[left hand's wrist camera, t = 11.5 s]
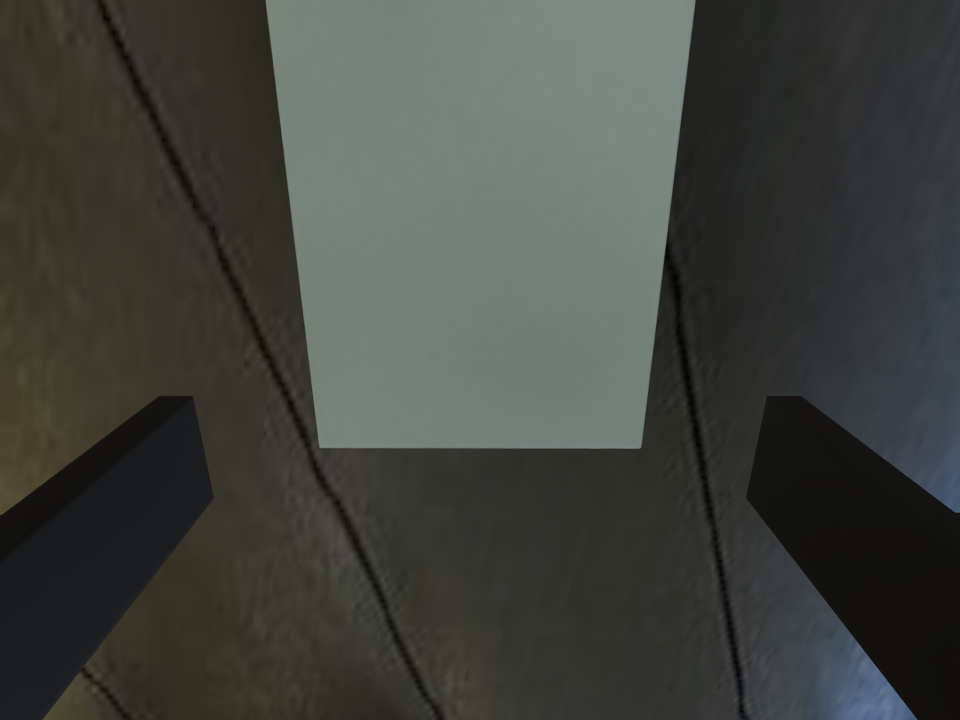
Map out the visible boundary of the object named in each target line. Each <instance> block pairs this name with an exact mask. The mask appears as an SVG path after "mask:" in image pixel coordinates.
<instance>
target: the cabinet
mask: <svg viewBox="0 0 960 720" xmlns="http://www.w3.org/2000/svg"><path fill="white" fill-rule="evenodd" d="M266 8H267V16H268V25H269V33H270V41H271V50H272V58H273V66H274V75H275V83H276V91H277V100H278V108H279V116H280V124H281V133H282V141H283V149H284V158H285V166H286V174H287V183H288V191H289V199H290V208H291V216H292V224H293V233H294V241H295V249H296V257H297V266H298V274H299V282H300V291H301V299H302V307H303V316H304V324H305V332H306V341H307V349H308V357H309V366H310V374H311V382H312V390H313V399H314V407H315V415H316V424H317V432H318V440H319V447H320V448H641V445H642V437H643V429H644V420H645V412H646V404H647V396H648V388H649V379H650V371H651V363H652V355H653V346H654V338H655V330H656V322H657V313H658V305H659V297H660V289H661V280H662V272H663V264H664V256H665V247H666V239H667V231H668V223H669V215H670V206H671V198H672V190H673V182H674V173H675V165H676V157H677V149H678V140H679V132H680V124H681V116H682V107H683V99H684V91H685V83H686V74H687V66H688V58H689V50H690V41H691V33H692V25H693V17H694V9H695V0H266Z"/></svg>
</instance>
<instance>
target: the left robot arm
mask: <svg viewBox="0 0 960 720" xmlns="http://www.w3.org/2000/svg"><path fill="white" fill-rule="evenodd" d="M213 498H214V496H213V492H212V487H211V482H210V477H209V472H208V467H207V462H206V458H205V453H204V448H203V443H202V438H201V433H200V429H199V424H198V419H197V414H196V409H195V404H194V399H193V396H159V397H157V398H156V399H155V400H153V401H152V402H151V403H149V404H148V405H147V406H146V407H144V408H143V409H142V410H140V411H139V412H138V413H136V414H135V415H134V416H132V417H131V418H130V419H128V420H127V421H126V422H124V423H123V424H122V425H120V426H119V427H118V428H116V429H115V430H114V431H112V432H111V433H110V434H108V435H107V436H106V437H104V438H103V439H102V440H101V441H99V442H98V443H97V444H95V445H94V446H93V447H91V448H90V449H89V450H87V451H86V452H85V453H83V454H82V455H81V456H79V457H78V458H77V459H75V460H74V461H73V462H71V463H70V464H69V465H67V466H66V467H65V468H63V469H62V470H61V471H59V472H58V473H57V474H56V475H54V476H53V477H52V478H50V479H49V480H48V481H46V482H45V483H44V484H42V485H41V486H40V487H38V488H37V489H36V490H34V491H33V492H32V493H30V494H29V495H28V496H26V497H25V498H24V499H22V500H21V501H20V502H18V503H17V504H16V505H15V506H13V507H12V508H11V509H9V510H8V511H7V512H5V513H4V514H3V515H0V720H43V718H44V717H45V716H46V714H47V713H48V712H49V711H50V709H51V708H52V707H53V705H54V704H55V703H56V701H57V700H58V699H59V698H60V696H61V695H62V694H63V692H64V691H65V690H66V689H67V687H68V686H69V685H70V683H71V682H72V681H73V679H74V678H75V677H76V676H77V674H78V673H79V672H80V670H81V669H82V668H83V667H84V665H85V664H86V663H87V661H88V660H89V659H90V657H91V656H92V655H93V654H94V652H95V651H96V650H97V648H98V647H99V646H100V645H101V643H102V642H103V641H104V639H105V638H106V637H107V635H108V634H109V633H110V632H111V630H112V629H113V628H114V626H115V625H116V624H117V623H118V621H119V620H120V619H121V617H122V616H123V615H124V613H125V612H126V611H127V610H128V608H129V607H130V606H131V604H132V603H133V602H134V601H135V599H136V598H137V597H138V595H139V594H140V593H141V592H142V590H143V589H144V588H145V586H146V585H147V584H148V582H149V581H150V580H151V579H152V577H153V576H154V575H155V573H156V572H157V571H158V570H159V568H160V567H161V566H162V564H163V563H164V562H165V560H166V559H167V558H168V557H169V555H170V554H171V553H172V551H173V550H174V549H175V548H176V546H177V545H178V544H179V542H180V541H181V540H182V538H183V537H184V536H185V535H186V533H187V532H188V531H189V529H190V528H191V527H192V526H193V524H194V523H195V522H196V520H197V519H198V518H199V516H200V515H201V514H202V513H203V511H204V510H205V509H206V507H207V506H208V505H209V504H210V502H211V501H212V500H213ZM746 498H747V500H748V501H749V502H750V504H751V505H752V506H753V507H754V509H755V510H756V511H757V513H758V514H759V515H760V516H761V518H762V519H763V520H764V522H765V523H766V524H767V526H768V527H769V528H770V529H771V531H772V532H773V533H774V535H775V536H776V537H777V538H778V540H779V541H780V542H781V544H782V545H783V546H784V548H785V549H786V550H787V551H788V553H789V554H790V555H791V557H792V558H793V559H794V560H795V562H796V563H797V564H798V566H799V567H800V568H801V570H802V571H803V572H804V573H805V575H806V576H807V577H808V579H809V580H810V581H811V582H812V584H813V585H814V586H815V588H816V589H817V590H818V592H819V593H820V594H821V595H822V597H823V598H824V599H825V601H826V602H827V603H828V604H829V606H830V607H831V608H832V610H833V611H834V612H835V613H836V615H837V616H838V617H839V619H840V620H841V621H842V623H843V624H844V625H845V626H846V628H847V629H848V630H849V632H850V633H851V634H852V635H853V637H854V638H855V639H856V641H857V642H858V643H859V645H860V646H861V647H862V648H863V650H864V651H865V652H866V654H867V655H868V656H869V657H870V659H871V660H872V661H873V663H874V664H875V665H876V667H877V668H878V669H879V670H880V672H881V673H882V674H883V676H884V677H885V678H886V679H887V681H888V682H889V683H890V685H891V686H892V687H893V689H894V690H895V691H896V692H897V694H898V695H899V696H900V698H901V699H902V700H903V701H904V703H905V704H906V705H907V707H908V708H909V709H910V711H911V712H912V713H913V714H914V716H915V717H916V718H917V720H960V513H955V512H953V511H952V510H951V509H949V508H948V507H947V506H945V505H944V504H943V503H942V502H940V501H939V500H938V499H936V498H935V497H934V496H932V495H931V494H930V493H928V492H927V491H926V490H924V489H923V488H922V487H920V486H919V485H918V484H916V483H915V482H914V481H912V480H911V479H910V478H908V477H907V476H906V475H904V474H903V473H902V472H901V471H899V470H898V469H897V468H895V467H894V466H893V465H891V464H890V463H889V462H887V461H886V460H885V459H883V458H882V457H881V456H879V455H878V454H877V453H875V452H874V451H873V450H871V449H870V448H869V447H867V446H866V445H865V444H863V443H862V442H861V441H859V440H858V439H857V438H856V437H854V436H853V435H852V434H850V433H849V432H848V431H846V430H845V429H844V428H842V427H841V426H840V425H838V424H837V423H836V422H834V421H833V420H832V419H830V418H829V417H828V416H826V415H825V414H824V413H822V412H821V411H820V410H818V409H817V408H816V407H814V406H813V405H812V404H811V403H809V402H808V401H807V400H805V399H804V398H803V397H801V396H767V399H766V404H765V409H764V414H763V419H762V424H761V429H760V433H759V438H758V443H757V448H756V453H755V458H754V462H753V467H752V472H751V477H750V482H749V487H748V492H747V496H746Z"/></svg>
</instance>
